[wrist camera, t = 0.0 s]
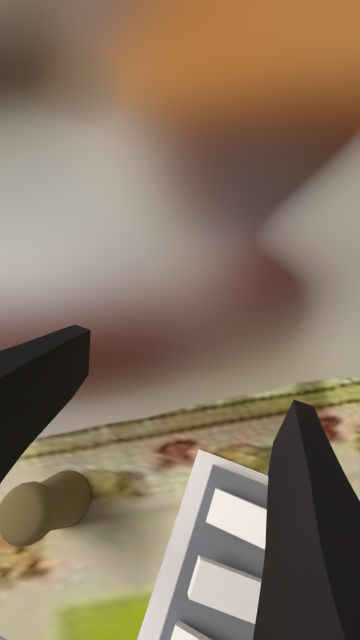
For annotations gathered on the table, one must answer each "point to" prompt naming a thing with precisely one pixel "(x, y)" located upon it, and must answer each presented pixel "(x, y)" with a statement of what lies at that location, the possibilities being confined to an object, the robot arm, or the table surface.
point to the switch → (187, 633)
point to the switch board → (182, 538)
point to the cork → (43, 507)
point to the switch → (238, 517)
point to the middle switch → (225, 589)
